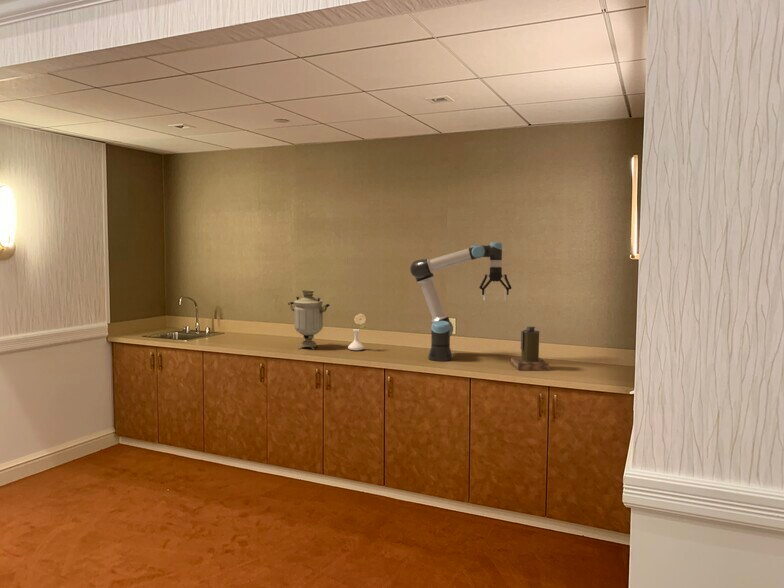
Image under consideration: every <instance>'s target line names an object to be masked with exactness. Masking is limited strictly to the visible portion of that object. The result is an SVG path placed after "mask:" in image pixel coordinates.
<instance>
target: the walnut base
mask: <svg viewBox="0 0 784 588" xmlns="http://www.w3.org/2000/svg"><path fill="white" fill-rule="evenodd" d="M510 365H512V366H513V367H514V368H515V370H517V371H518V370H519V371H550V364H549V363H548V362H547V361H546V360H544V359H543V358H541V357H539V361H538V362H524V361H521V357H511V358H510Z"/></svg>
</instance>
